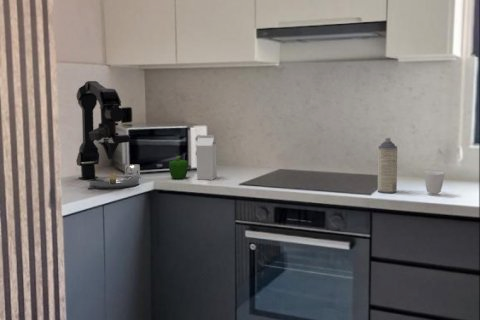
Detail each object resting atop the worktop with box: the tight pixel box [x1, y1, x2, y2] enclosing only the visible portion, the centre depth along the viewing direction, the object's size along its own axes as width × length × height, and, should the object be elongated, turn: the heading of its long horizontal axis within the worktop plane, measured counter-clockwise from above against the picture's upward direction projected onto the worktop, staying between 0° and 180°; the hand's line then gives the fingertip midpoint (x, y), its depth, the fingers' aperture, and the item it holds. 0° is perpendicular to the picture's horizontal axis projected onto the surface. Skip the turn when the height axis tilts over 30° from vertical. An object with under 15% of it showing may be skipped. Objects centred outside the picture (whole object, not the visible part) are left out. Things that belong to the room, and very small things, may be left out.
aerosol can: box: [377, 137, 398, 195], centre depth 204 cm, size 7×7×20 cm
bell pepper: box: [168, 156, 189, 180], centre depth 245 cm, size 8×8×10 cm
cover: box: [124, 164, 141, 179], centre depth 247 cm, size 6×6×6 cm
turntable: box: [89, 172, 140, 190], centre depth 230 cm, size 20×20×6 cm
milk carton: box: [195, 134, 218, 181], centre depth 242 cm, size 7×7×19 cm
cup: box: [423, 170, 445, 197], centre depth 199 cm, size 7×10×8 cm
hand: (110, 159), depth 224 cm, fingers closed
